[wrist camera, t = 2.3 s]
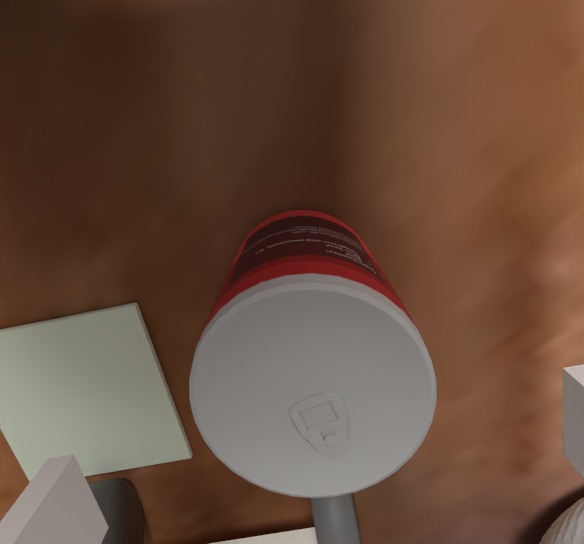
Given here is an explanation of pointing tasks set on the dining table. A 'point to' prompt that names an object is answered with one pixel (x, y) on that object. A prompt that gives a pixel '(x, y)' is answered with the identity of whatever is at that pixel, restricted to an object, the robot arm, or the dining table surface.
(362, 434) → the canned food
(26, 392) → the mat
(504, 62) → the dining table surface
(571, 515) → the cereal bowl
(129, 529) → the trolley
